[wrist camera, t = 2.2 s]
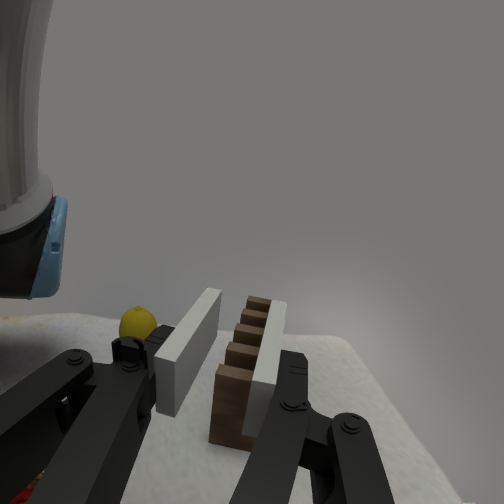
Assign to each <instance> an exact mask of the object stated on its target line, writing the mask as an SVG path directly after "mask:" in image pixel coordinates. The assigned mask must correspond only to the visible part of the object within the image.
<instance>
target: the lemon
mask: <svg viewBox="0 0 504 504" xmlns="http://www.w3.org/2000/svg"><path fill="white" fill-rule="evenodd" d="M157 327H158V326H157V323H156V320H155V317H154V316H153V315H152V313H151V312H149V311H148V310H146V309H144V308H141V307H139V306H137V307H135V308H132V309H130V310H128V311H127V312H126V313H125V314H124V315H123V317H122V319H121V322H120V327H119V336H120V337H125V336H131V337H137V338H140V339H142V340H143V341H144V340H145V338H146V337H147V336H149V334H150V333H151V332H152V331H153V330H154V329H155V328H157Z"/></svg>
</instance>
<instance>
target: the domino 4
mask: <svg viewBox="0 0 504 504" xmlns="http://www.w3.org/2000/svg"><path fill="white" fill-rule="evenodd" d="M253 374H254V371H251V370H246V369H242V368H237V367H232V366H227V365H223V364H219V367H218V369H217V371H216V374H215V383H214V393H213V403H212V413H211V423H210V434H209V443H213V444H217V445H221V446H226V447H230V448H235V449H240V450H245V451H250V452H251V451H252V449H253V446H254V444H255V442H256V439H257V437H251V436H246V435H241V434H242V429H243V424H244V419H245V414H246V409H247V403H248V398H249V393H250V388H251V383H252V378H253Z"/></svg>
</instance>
